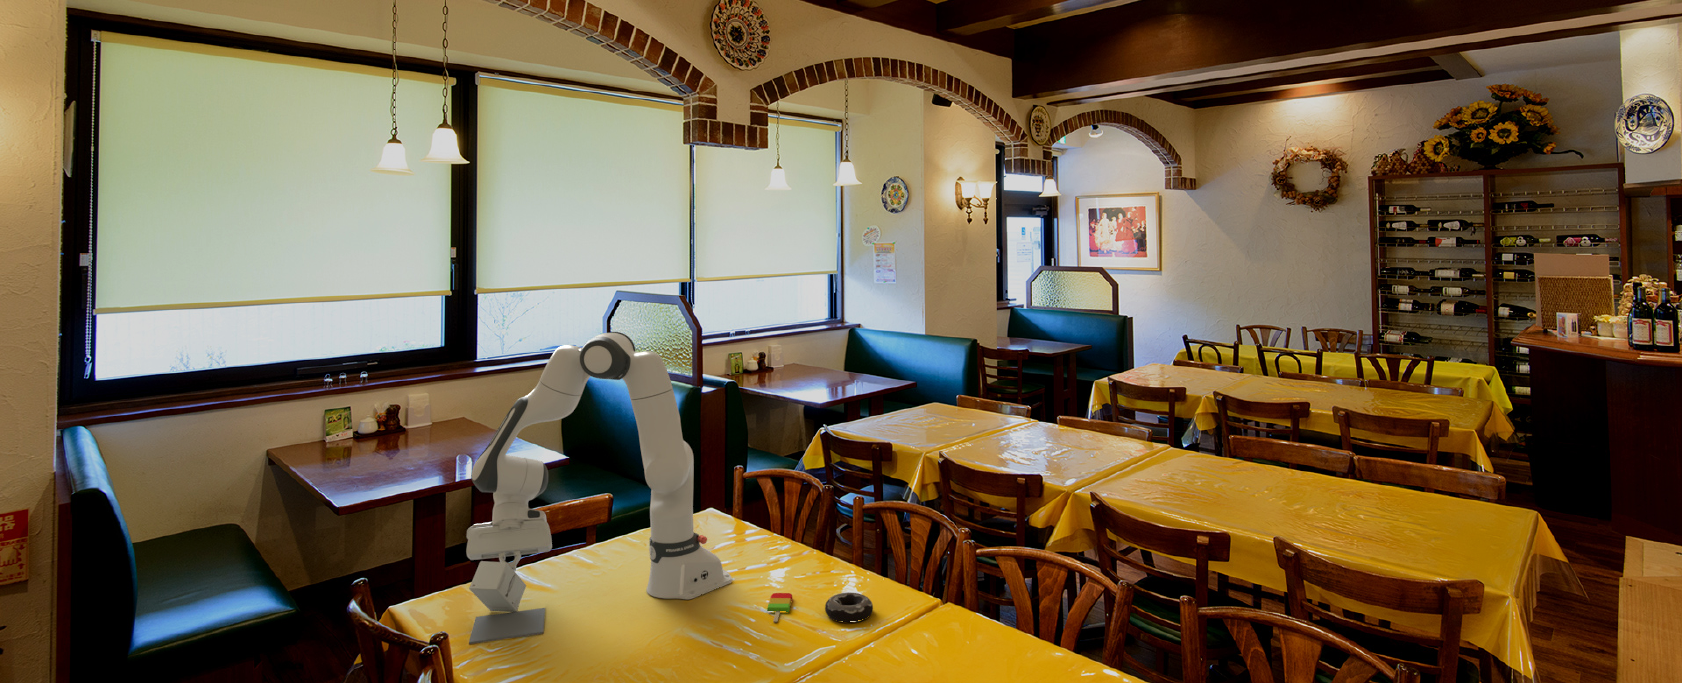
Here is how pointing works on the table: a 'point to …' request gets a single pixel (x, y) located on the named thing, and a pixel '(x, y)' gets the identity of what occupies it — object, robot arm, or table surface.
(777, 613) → the popsicle
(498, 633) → the rubber mat
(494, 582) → the supplement box
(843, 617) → the donut
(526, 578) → the table surface
